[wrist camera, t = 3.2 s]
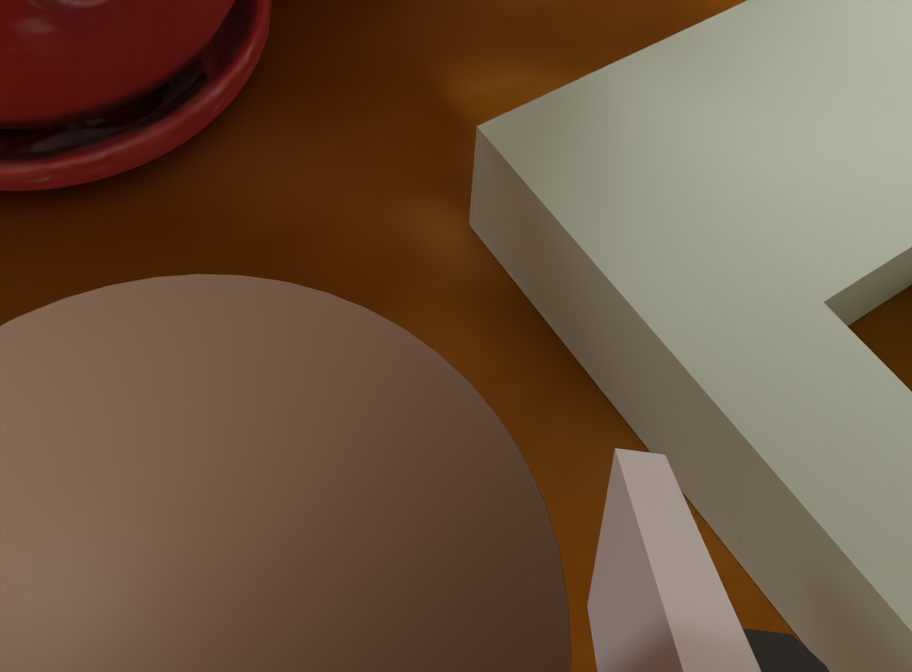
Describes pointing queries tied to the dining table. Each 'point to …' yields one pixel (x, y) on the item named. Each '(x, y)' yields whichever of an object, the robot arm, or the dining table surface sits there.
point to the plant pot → (115, 81)
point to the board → (741, 286)
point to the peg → (260, 493)
